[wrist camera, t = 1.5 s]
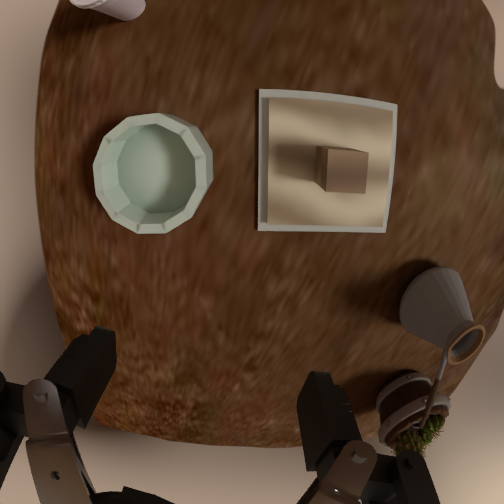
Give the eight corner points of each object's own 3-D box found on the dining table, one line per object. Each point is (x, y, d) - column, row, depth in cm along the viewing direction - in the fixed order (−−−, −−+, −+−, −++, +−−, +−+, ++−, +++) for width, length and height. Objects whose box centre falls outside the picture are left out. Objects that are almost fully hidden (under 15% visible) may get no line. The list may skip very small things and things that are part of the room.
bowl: (111, 122, 28) (90, 123, 23) (212, 112, 28) (205, 109, 23) (119, 219, 33) (102, 234, 28) (214, 217, 33) (208, 232, 28)
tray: (259, 89, 27) (259, 89, 27) (395, 104, 27) (397, 104, 27) (257, 229, 34) (257, 230, 33) (384, 231, 34) (385, 232, 33)
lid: (268, 98, 27) (272, 91, 22) (389, 111, 27) (415, 110, 22) (266, 222, 33) (270, 241, 28) (379, 224, 33) (400, 243, 28)
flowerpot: (440, 353, 44) (485, 430, 26) (417, 400, 50) (447, 469, 32) (375, 369, 44) (412, 463, 26) (359, 415, 51) (382, 493, 32)
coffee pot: (407, 254, 35) (468, 319, 22) (461, 261, 36) (520, 315, 22) (361, 367, 44) (387, 438, 30) (413, 363, 45) (444, 424, 31)
